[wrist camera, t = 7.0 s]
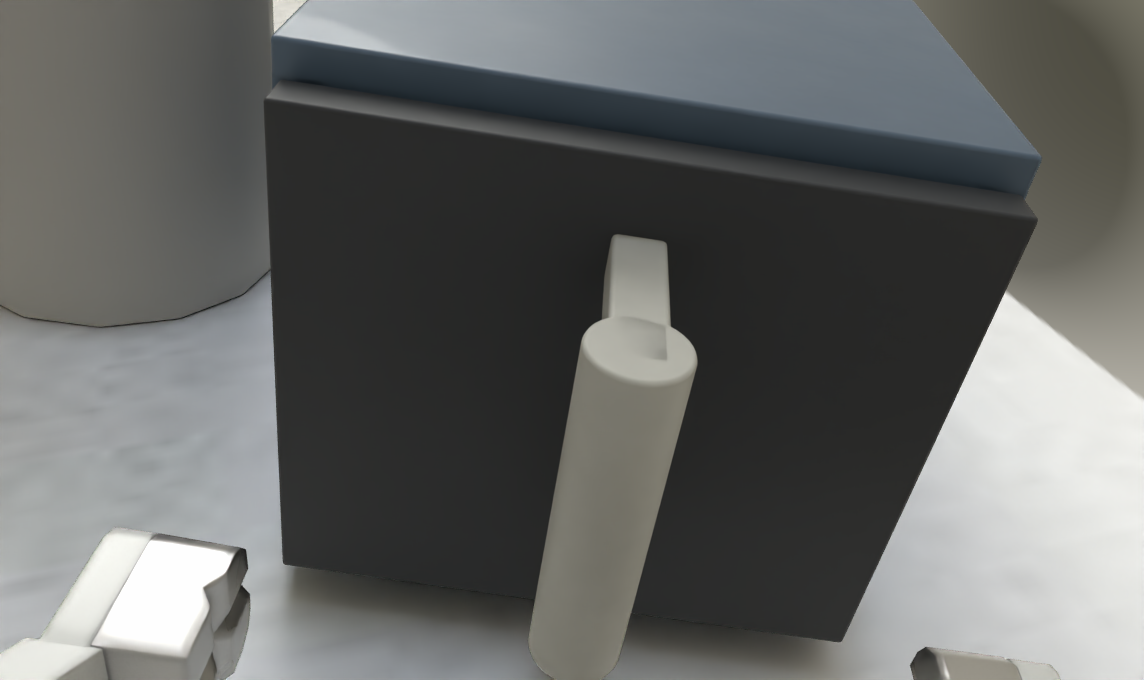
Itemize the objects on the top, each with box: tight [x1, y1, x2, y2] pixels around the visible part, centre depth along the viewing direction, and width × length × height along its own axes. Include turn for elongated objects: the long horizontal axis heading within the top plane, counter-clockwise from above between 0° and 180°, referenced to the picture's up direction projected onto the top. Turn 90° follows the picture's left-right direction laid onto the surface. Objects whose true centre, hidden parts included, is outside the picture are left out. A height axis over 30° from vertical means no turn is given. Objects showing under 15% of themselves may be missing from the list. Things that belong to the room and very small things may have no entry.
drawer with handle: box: [263, 80, 1038, 680], centre depth 20 cm, size 17×11×9 cm, turn 177°
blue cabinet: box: [271, 0, 1042, 200], centre depth 22 cm, size 14×11×10 cm
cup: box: [0, 0, 274, 327], centre depth 25 cm, size 8×8×10 cm
